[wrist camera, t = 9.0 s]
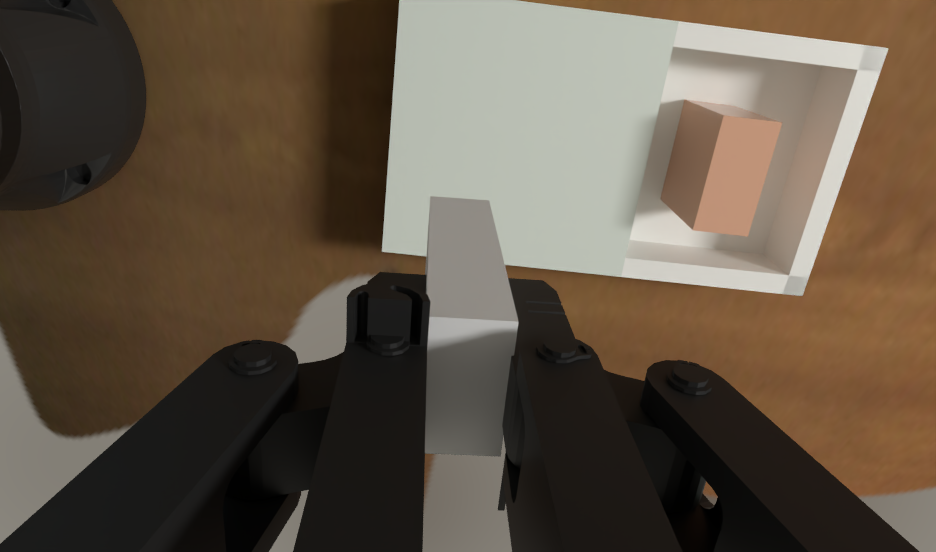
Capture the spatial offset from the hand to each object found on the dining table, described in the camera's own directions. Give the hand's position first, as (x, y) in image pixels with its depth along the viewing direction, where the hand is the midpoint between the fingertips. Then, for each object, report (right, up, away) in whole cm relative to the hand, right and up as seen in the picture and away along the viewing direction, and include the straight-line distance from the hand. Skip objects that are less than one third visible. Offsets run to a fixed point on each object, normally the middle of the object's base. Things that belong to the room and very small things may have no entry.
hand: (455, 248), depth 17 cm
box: (+16, +7, +22) cm, 28 cm away
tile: (+13, +6, +19) cm, 23 cm away
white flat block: (+3, +8, +21) cm, 23 cm away
